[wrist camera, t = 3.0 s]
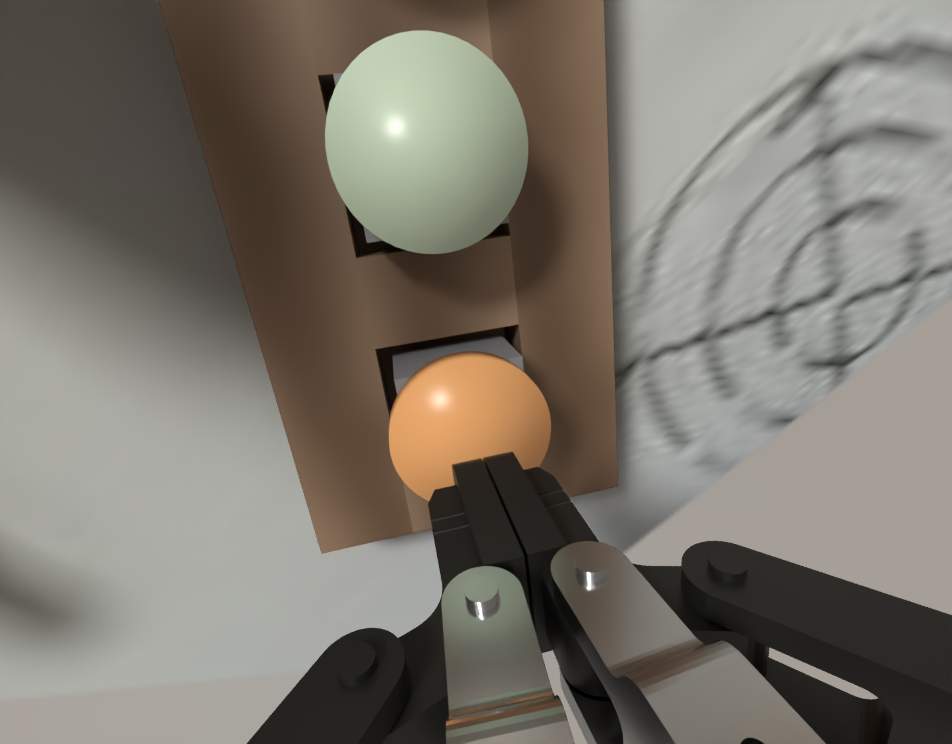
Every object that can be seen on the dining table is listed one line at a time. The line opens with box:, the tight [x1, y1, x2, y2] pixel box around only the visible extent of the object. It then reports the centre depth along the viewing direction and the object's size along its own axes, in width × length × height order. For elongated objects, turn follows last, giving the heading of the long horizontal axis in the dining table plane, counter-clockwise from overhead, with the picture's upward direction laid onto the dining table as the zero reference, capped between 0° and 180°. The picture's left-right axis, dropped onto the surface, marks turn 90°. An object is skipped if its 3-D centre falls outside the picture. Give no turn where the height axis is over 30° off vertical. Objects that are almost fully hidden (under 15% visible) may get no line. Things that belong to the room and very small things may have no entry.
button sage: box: [325, 31, 528, 254], centre depth 13 cm, size 5×5×4 cm
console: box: [159, 0, 618, 554], centre depth 16 cm, size 12×26×3 cm, turn 8°
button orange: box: [389, 334, 551, 501], centre depth 16 cm, size 5×5×4 cm
